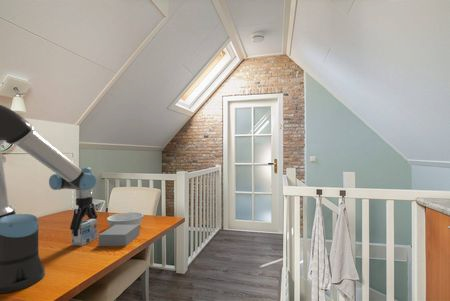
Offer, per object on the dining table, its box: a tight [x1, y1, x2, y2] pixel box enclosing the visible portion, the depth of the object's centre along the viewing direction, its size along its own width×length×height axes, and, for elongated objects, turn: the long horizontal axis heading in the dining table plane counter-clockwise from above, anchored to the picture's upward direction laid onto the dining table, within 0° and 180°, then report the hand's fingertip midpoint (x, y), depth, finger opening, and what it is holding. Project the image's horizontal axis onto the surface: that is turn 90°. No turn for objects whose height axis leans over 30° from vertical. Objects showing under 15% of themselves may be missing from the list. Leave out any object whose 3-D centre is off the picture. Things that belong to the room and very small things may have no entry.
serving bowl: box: [106, 211, 144, 228], centre depth 146 cm, size 21×21×7 cm
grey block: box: [97, 224, 141, 247], centre depth 124 cm, size 16×14×6 cm
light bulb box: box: [71, 218, 98, 247], centre depth 123 cm, size 11×7×11 cm, turn 168°
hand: (85, 237), depth 123 cm, fingers open, 13 cm apart
